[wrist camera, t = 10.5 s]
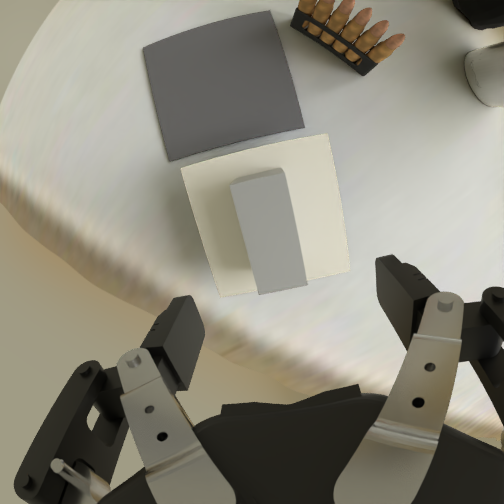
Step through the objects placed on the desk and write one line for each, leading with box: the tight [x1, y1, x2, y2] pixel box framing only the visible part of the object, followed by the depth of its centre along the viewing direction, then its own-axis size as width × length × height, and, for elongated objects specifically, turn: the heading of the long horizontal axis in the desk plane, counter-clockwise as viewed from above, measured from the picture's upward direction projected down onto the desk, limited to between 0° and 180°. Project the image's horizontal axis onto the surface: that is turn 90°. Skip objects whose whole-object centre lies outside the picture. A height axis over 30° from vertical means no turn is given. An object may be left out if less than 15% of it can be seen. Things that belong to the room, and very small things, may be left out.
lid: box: [180, 133, 350, 298], centre depth 24 cm, size 14×14×6 cm
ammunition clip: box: [290, 0, 405, 76], centre depth 19 cm, size 11×2×12 cm, turn 55°
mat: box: [143, 10, 305, 161], centre depth 27 cm, size 16×16×1 cm
